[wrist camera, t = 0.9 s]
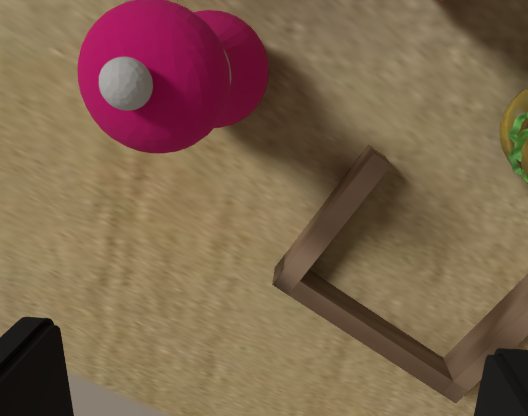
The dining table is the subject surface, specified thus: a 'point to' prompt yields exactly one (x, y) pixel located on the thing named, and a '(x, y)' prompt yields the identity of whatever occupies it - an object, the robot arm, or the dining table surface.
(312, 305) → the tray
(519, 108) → the hamburger
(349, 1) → the dining table surface
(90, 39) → the pepper mill
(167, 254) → the dining table surface
